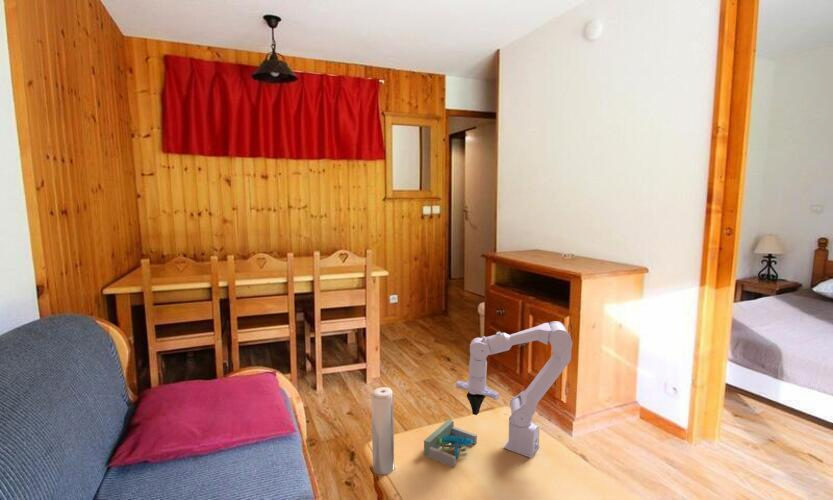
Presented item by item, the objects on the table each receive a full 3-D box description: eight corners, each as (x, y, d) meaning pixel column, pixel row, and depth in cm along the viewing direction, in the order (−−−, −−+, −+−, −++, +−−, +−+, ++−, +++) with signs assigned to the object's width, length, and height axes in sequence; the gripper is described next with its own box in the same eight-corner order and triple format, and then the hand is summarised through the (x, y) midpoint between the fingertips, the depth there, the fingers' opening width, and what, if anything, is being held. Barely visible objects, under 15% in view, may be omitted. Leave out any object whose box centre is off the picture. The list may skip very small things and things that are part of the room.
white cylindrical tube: (384, 458, 134) (383, 384, 130) (398, 468, 129) (397, 390, 126) (368, 468, 129) (366, 391, 126) (382, 478, 124) (380, 398, 121)
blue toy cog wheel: (475, 442, 139) (468, 433, 132) (474, 461, 136) (468, 454, 128) (443, 441, 143) (435, 432, 135) (441, 460, 139) (433, 452, 132)
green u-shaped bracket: (476, 443, 142) (477, 429, 141) (453, 467, 129) (453, 452, 128) (448, 432, 148) (448, 419, 147) (424, 455, 135) (424, 440, 135)
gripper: (452, 373, 139) (450, 411, 141) (493, 385, 131) (491, 425, 133) (462, 366, 145) (460, 403, 147) (501, 377, 137) (499, 416, 139)
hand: (475, 413), depth 141 cm, fingers closed
